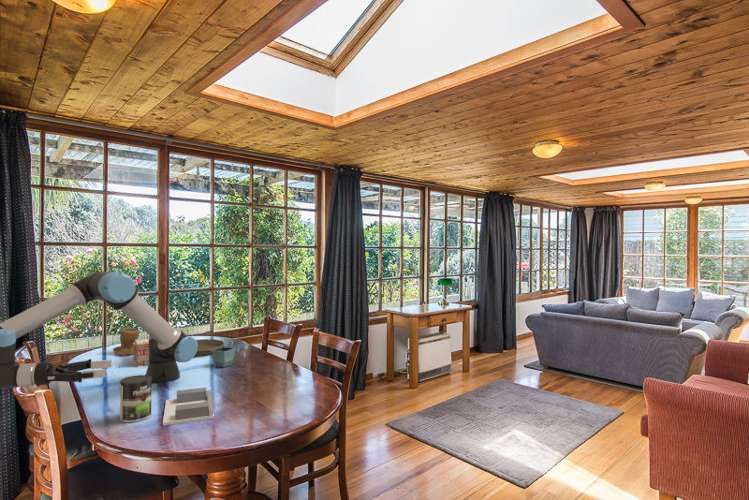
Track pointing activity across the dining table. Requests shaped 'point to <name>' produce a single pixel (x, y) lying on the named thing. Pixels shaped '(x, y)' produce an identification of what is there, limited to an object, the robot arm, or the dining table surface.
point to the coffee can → (135, 398)
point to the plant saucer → (207, 346)
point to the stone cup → (127, 341)
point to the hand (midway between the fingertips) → (108, 368)
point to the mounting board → (170, 413)
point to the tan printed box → (141, 352)
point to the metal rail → (209, 403)
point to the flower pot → (223, 356)
